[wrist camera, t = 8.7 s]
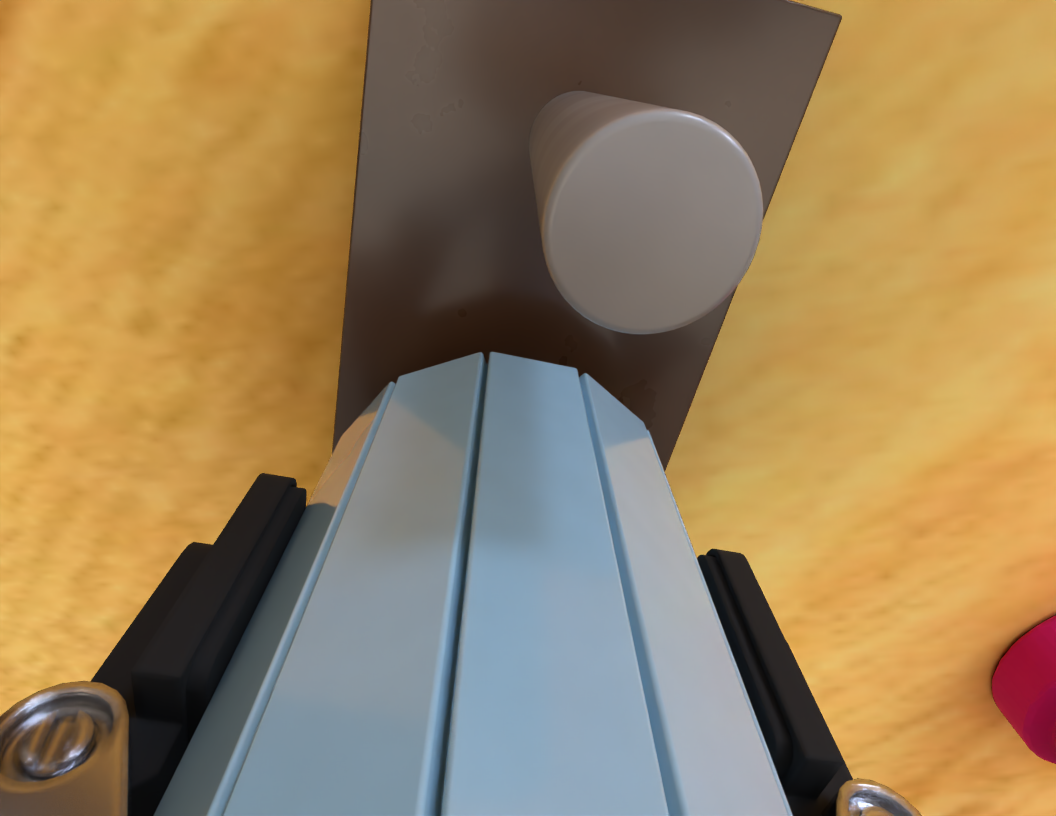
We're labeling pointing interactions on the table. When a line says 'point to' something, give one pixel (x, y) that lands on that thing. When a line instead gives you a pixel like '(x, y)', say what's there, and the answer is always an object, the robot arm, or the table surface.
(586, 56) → the rack
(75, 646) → the table surface
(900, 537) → the table surface
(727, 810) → the cup
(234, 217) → the table surface
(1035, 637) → the pepper mill
